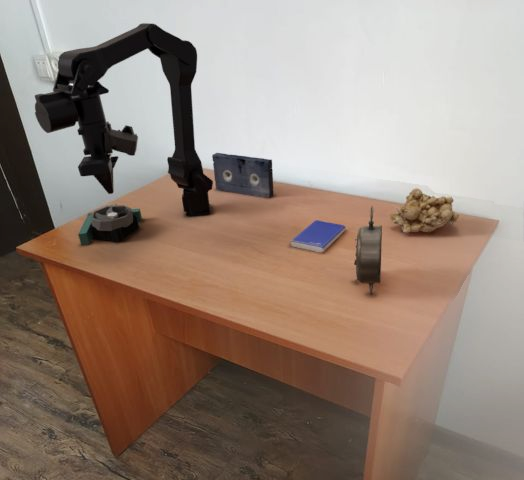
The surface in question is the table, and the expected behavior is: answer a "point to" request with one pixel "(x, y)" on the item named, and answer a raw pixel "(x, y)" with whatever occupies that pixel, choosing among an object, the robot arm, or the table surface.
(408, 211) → the mineral formation
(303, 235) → the blue book
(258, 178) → the vhs cassette tape
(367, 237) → the alarm clock
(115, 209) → the cpu cooler
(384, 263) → the table surface
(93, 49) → the robot arm
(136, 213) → the corner stop
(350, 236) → the table surface
